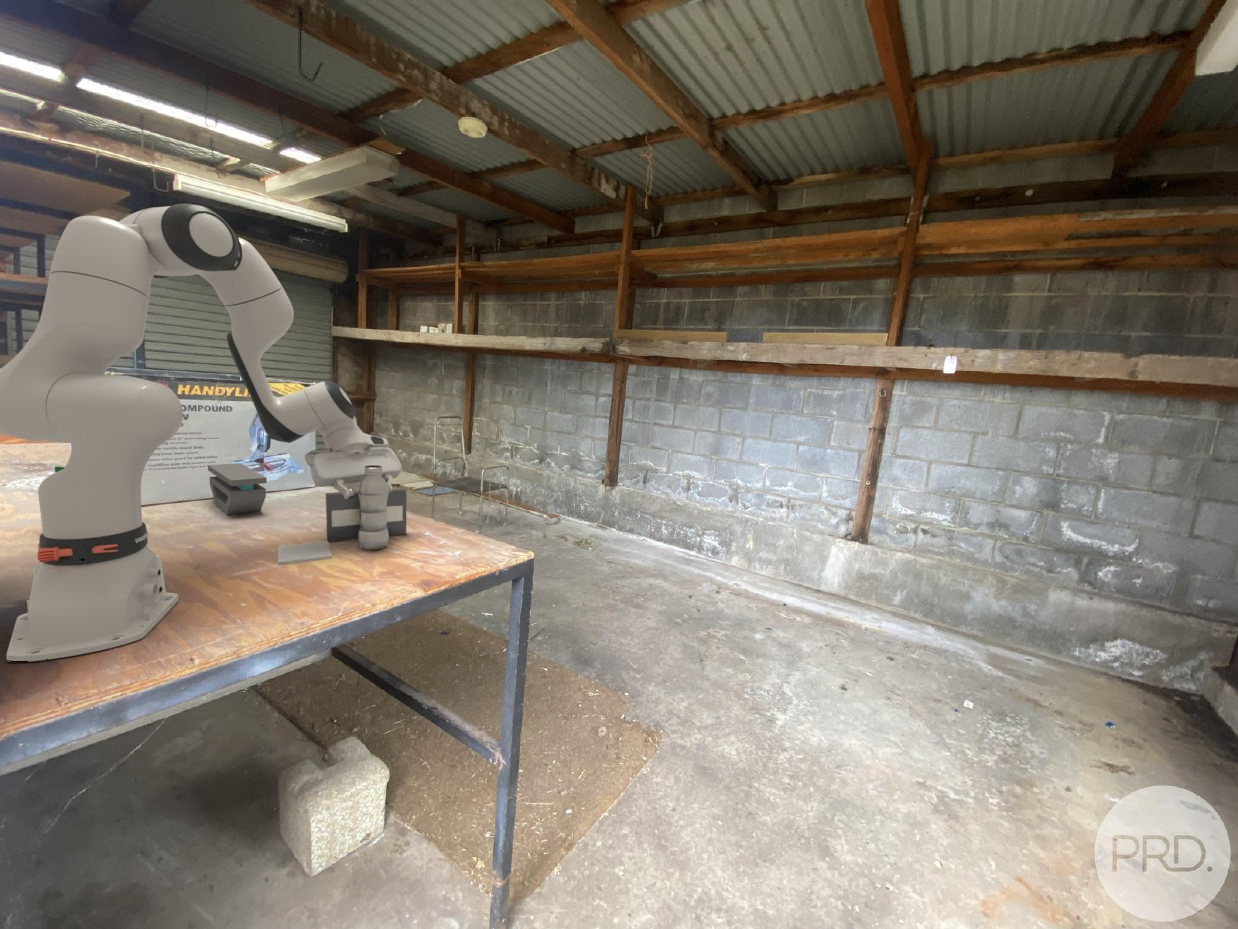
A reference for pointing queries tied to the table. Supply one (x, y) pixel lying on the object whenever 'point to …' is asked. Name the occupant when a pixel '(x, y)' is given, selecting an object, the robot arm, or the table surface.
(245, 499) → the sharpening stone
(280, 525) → the table surface
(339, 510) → the panel
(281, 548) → the rubber pad
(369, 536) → the plastic bottle
